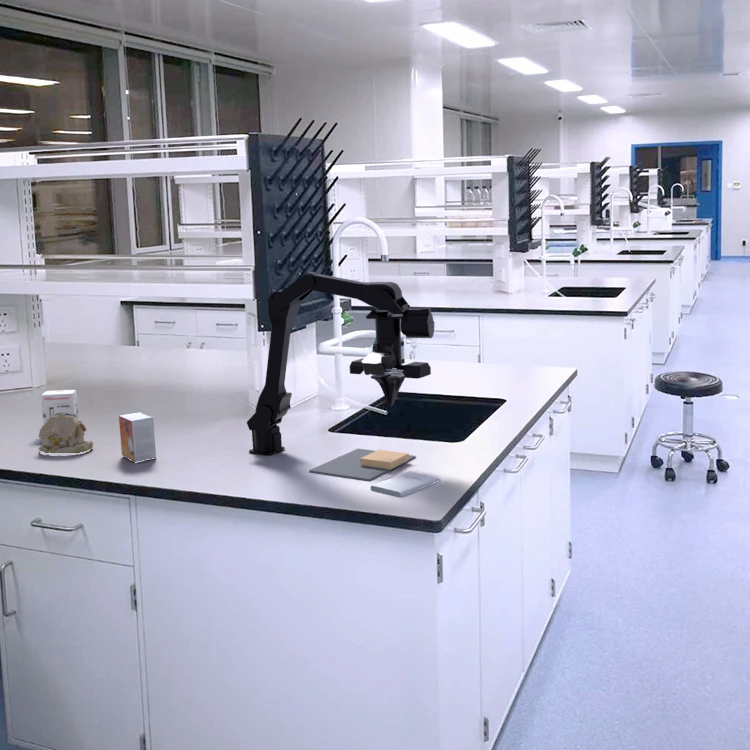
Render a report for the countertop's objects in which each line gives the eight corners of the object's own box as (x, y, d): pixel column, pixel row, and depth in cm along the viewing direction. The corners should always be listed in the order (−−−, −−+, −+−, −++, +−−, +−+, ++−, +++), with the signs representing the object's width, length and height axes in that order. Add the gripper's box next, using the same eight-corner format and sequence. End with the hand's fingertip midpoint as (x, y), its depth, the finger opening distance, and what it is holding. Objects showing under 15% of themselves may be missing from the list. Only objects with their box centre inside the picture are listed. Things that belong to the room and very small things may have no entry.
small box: (121, 457, 218) (117, 415, 216) (143, 453, 222) (139, 411, 220) (134, 464, 212) (130, 420, 210) (157, 459, 215) (153, 416, 213)
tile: (360, 458, 201) (390, 462, 197) (378, 449, 208) (408, 453, 203) (360, 466, 201) (390, 470, 197) (379, 457, 208) (408, 461, 204)
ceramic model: (28, 456, 223) (24, 417, 222) (57, 444, 234) (53, 407, 232) (76, 458, 219) (72, 418, 217) (103, 446, 230) (99, 408, 228)
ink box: (44, 437, 242) (39, 394, 240) (48, 432, 247) (44, 390, 245) (76, 435, 243) (72, 392, 240) (80, 430, 247) (76, 389, 245)
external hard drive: (370, 492, 186) (409, 477, 195) (400, 499, 180) (438, 484, 189) (370, 485, 185) (408, 470, 194) (400, 492, 180) (438, 476, 189)
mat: (309, 472, 200) (309, 470, 200) (357, 450, 216) (357, 448, 216) (369, 481, 191) (369, 479, 191) (415, 457, 208) (415, 455, 208)
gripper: (334, 341, 202) (337, 408, 205) (406, 345, 192) (408, 415, 195) (361, 334, 211) (364, 399, 214) (430, 337, 201) (432, 405, 204)
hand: (390, 405), depth 207 cm, fingers closed
